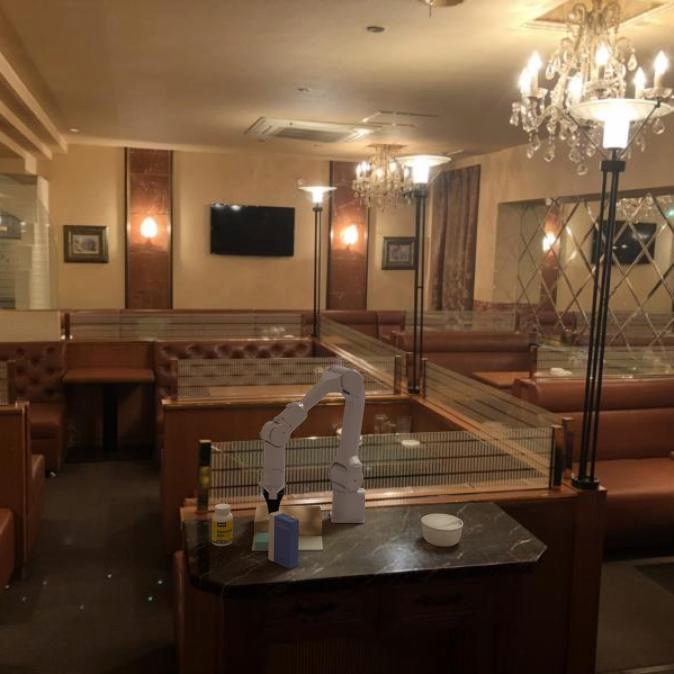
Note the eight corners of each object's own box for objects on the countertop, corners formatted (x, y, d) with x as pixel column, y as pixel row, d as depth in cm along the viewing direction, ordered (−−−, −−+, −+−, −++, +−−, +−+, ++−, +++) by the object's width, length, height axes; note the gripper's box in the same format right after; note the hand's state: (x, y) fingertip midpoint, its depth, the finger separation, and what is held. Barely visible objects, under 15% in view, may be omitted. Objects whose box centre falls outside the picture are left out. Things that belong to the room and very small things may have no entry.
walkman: (298, 565, 166) (299, 518, 165) (289, 569, 164) (290, 521, 163) (276, 555, 172) (277, 509, 170) (268, 559, 169) (268, 512, 168)
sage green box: (290, 542, 174) (290, 549, 175) (290, 532, 180) (290, 540, 181) (254, 542, 174) (254, 549, 174) (255, 532, 180) (255, 540, 180)
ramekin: (459, 551, 177) (460, 531, 177) (416, 545, 180) (417, 525, 180) (464, 535, 188) (465, 516, 187) (424, 529, 191) (425, 511, 190)
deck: (320, 519, 196) (320, 505, 196) (321, 536, 184) (322, 521, 184) (256, 519, 195) (256, 505, 195) (254, 536, 183) (254, 521, 183)
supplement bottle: (215, 548, 175) (215, 511, 174) (208, 540, 180) (209, 504, 179) (235, 544, 178) (235, 508, 176) (228, 536, 182) (229, 501, 181)
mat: (321, 537, 184) (321, 536, 184) (322, 550, 175) (322, 549, 175) (253, 536, 183) (254, 535, 183) (251, 550, 174) (251, 549, 174)
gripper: (260, 458, 190) (259, 506, 191) (257, 475, 175) (256, 526, 177) (286, 459, 190) (285, 506, 192) (285, 475, 176) (284, 526, 177)
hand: (273, 516), depth 184 cm, fingers closed
